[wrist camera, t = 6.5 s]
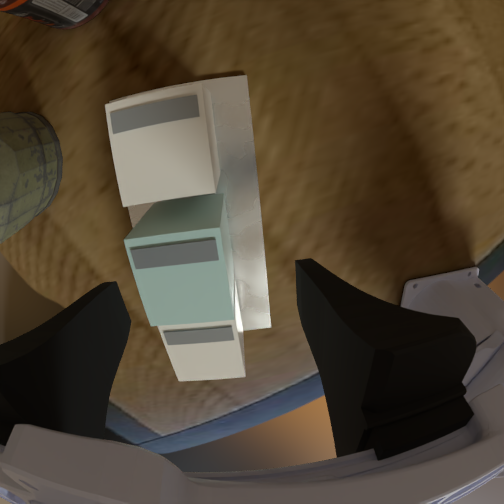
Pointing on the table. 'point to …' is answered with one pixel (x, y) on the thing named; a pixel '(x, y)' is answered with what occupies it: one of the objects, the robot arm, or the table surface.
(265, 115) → the table surface
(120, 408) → the table surface
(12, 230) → the thermos
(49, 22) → the supplement bottle
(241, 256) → the rail panel
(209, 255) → the block
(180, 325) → the mounted modules
